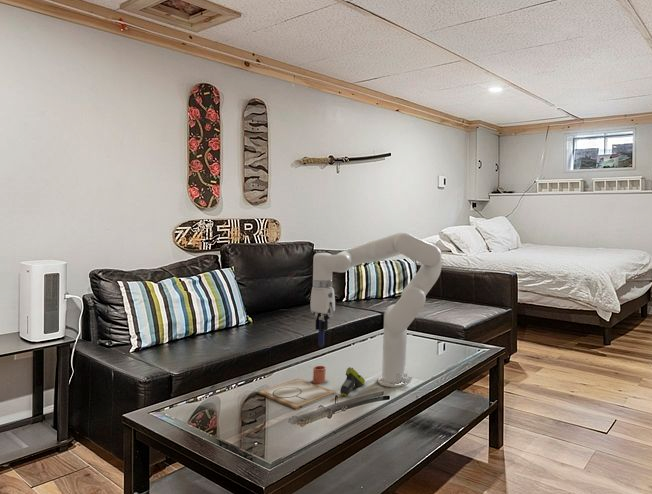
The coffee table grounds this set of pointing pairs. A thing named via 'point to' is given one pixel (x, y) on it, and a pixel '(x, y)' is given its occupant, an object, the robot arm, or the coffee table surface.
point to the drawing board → (296, 393)
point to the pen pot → (319, 374)
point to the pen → (320, 334)
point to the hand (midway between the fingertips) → (321, 329)
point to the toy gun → (351, 381)
